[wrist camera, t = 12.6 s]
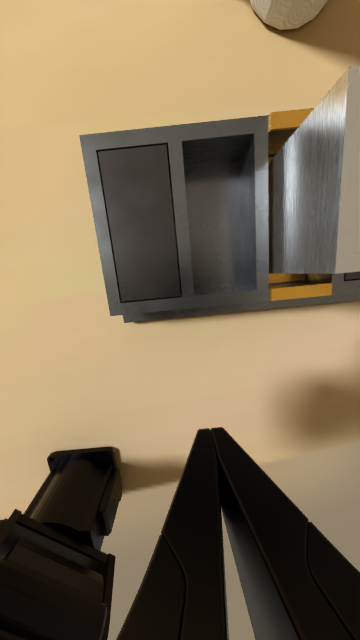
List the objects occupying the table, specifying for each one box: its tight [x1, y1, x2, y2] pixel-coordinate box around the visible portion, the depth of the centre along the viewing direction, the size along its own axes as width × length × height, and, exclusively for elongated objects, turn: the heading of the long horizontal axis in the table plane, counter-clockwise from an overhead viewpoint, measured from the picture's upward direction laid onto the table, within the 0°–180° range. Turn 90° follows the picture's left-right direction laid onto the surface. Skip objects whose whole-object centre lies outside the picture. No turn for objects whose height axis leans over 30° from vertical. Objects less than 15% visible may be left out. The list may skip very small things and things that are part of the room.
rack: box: [79, 108, 360, 323], centre depth 15 cm, size 21×13×4 cm, turn 95°
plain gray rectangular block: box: [268, 66, 360, 274], centre depth 12 cm, size 3×7×8 cm, turn 5°
